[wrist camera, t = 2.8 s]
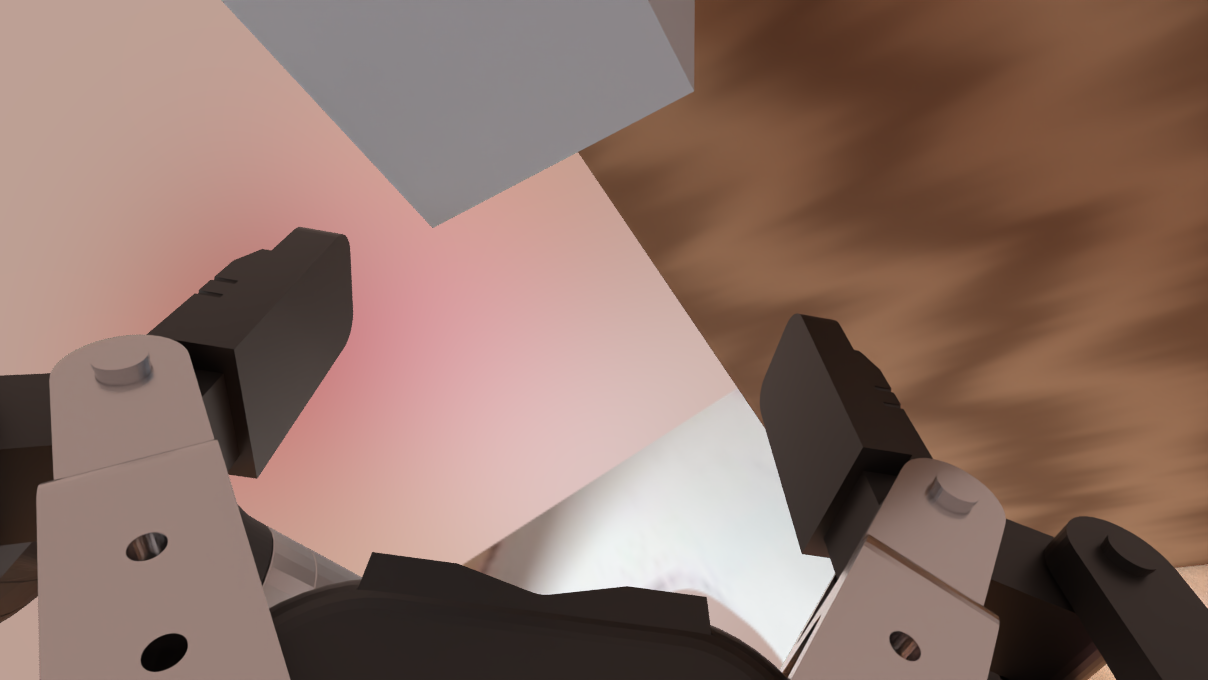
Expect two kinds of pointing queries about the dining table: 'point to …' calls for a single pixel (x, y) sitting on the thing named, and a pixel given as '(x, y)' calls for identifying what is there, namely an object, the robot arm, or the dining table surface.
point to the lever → (478, 81)
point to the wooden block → (959, 229)
